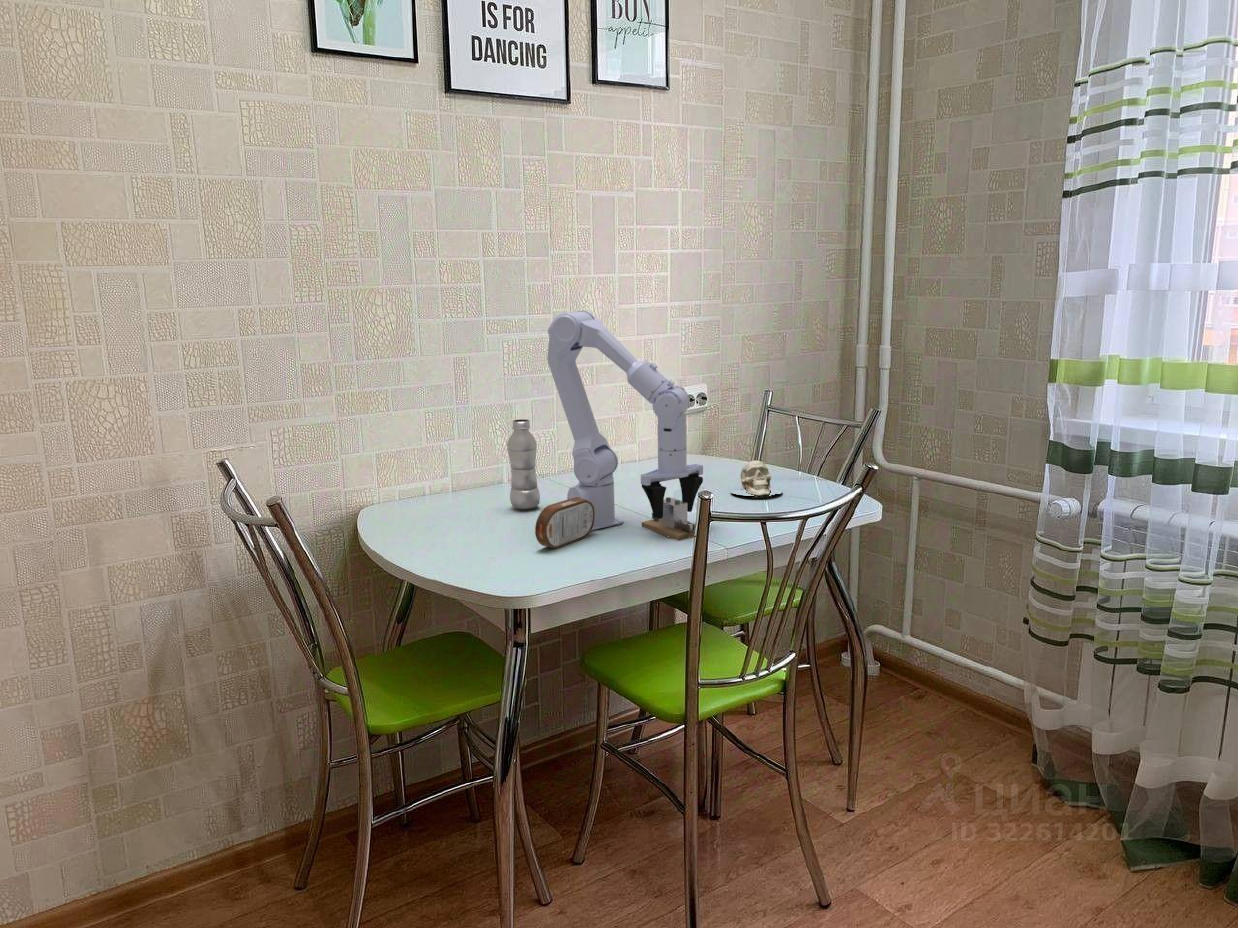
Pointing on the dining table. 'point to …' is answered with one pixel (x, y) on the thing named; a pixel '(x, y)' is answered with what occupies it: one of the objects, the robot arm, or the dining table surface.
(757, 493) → the skull
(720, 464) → the dining table surface
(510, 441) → the plastic bottle
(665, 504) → the grey toy brick
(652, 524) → the board
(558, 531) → the tin
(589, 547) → the dining table surface
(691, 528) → the chain ends
